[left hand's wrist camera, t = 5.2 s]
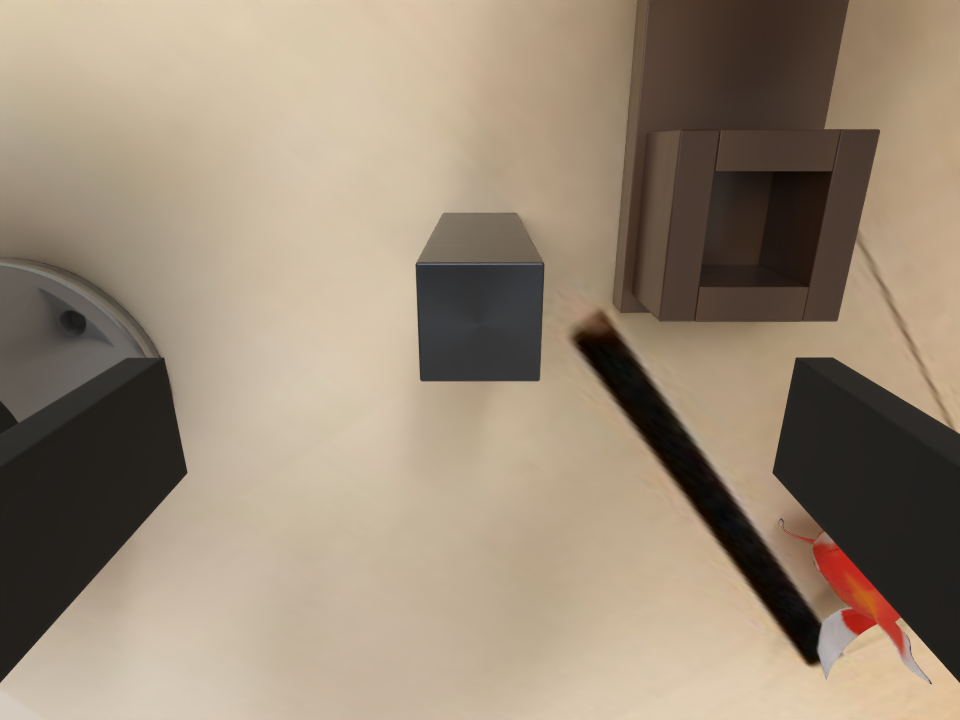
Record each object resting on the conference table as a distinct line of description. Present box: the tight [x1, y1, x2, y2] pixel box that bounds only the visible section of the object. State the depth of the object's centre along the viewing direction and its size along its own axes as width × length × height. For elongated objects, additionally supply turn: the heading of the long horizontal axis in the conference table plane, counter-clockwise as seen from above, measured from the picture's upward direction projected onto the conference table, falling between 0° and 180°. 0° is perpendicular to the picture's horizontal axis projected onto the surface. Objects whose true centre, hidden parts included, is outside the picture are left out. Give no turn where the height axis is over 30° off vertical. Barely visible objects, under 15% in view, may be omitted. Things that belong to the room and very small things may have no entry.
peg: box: [416, 213, 544, 381], centre depth 25 cm, size 4×4×14 cm
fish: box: [778, 519, 932, 684], centre depth 35 cm, size 11×16×10 cm
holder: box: [613, 0, 880, 322], centre depth 23 cm, size 9×26×12 cm, turn 0°
